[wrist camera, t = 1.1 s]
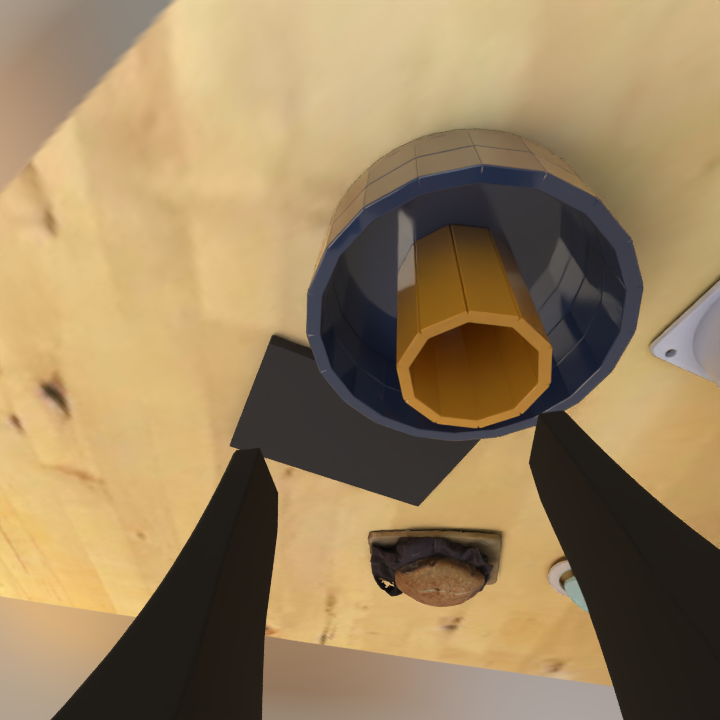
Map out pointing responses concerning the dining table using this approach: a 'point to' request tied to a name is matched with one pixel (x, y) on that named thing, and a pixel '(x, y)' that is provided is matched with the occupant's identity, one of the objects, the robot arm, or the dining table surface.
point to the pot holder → (336, 432)
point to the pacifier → (566, 584)
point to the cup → (468, 330)
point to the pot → (513, 227)
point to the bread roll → (435, 564)
